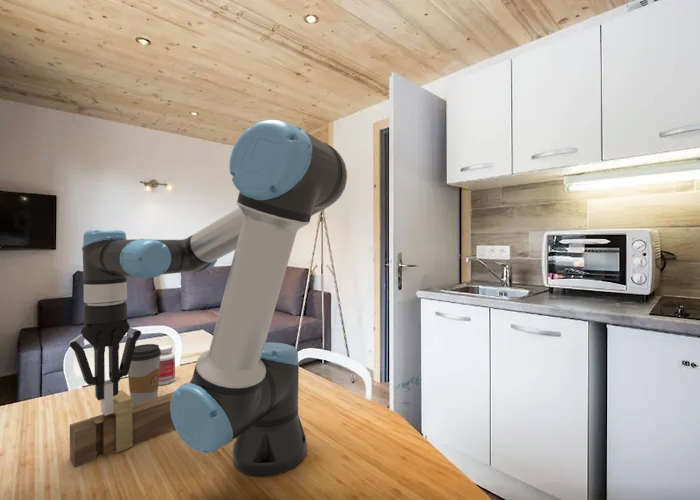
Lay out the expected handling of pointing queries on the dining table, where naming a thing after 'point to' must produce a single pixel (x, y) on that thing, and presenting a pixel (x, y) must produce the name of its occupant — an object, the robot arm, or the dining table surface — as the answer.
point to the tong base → (93, 435)
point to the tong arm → (139, 424)
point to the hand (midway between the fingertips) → (107, 412)
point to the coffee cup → (144, 373)
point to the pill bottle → (166, 365)
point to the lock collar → (123, 421)
